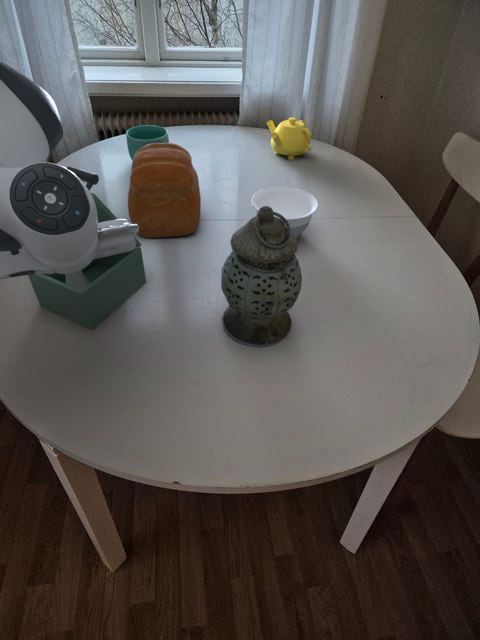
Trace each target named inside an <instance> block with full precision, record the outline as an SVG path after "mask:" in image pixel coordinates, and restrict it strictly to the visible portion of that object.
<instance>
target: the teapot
mask: <svg viewBox="0 0 480 640" xmlns="http://www.w3.org/2000/svg"><path fill="white" fill-rule="evenodd" d="M266 125H267V127H268V128H269V131H270V133H271V135H270V136H271V139H270V145H271V146H270V147H272V149H273V150H274V151H275V152H274V155H276V156H280V155H283V156H287V159H288V160H295V156H299V155H301V156H302V155H304V153H305V152H311V151H312V146H311V144H310V142H311V140H312V136H313V135H312V131H311V129H309V128H307V122H306V120H304V119H300V120H298V119H297V118H296V117H289V118H288V119H284V120H282V121H281V122H280V123H279V124H278V125H277V127H276V125H275V123H274V121H273V119H270V120H268V121H266Z"/></svg>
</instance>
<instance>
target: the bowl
mask: <svg viewBox="0 0 480 640" xmlns="http://www.w3.org/2000/svg"><path fill="white" fill-rule="evenodd" d="M250 204H251V207H252V208H253V209H254V213H255V216H258V211H259V209H260V208H261V207H263V206H269V207H271V208H272V210H273V211H274V212H276V213H279V214H281V215H282V216H283V217H284V218H285V219H286V220H287V221H288V223H289V225H290V228H291V234H292V235H293V236H294V237H295V239H296V240H298V238H299V235H300V234H301V233H303V232H304V231H305V230H306V229H307V227H308V226H309V225H310V222H311V220H312V218H313V215H314V214H316V213H317V211H318V209H319V201H318V200H317V198H316V197H315V196H314V195H313V194H311V192H308V191H306V190H303V189H301V188H297V187H292V186H283V185H282V186H280V185H279V186H270V187H266V188H262V189H261V190H258V191H256V192H255V193H254V194H253V196H252V197H251V201H250ZM274 216H275V215H274ZM275 217H277V216H275ZM278 218H279V217H278ZM279 219H280V218H279ZM284 224H285V223H284ZM285 226H286V225H285ZM286 228H287V227H286Z"/></svg>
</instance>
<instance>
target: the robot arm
mask: <svg viewBox="0 0 480 640" xmlns="http://www.w3.org/2000/svg"><path fill="white" fill-rule="evenodd" d="M61 119H62V118H61V116H60V113H59V110H58V108H57V105H56V103H55V101H54V99H53V98H52V97H51V95H50V94H49V93H48V92H47V91H46V90H45V89H43V88H42V87H41V86H40V85H39V84H37V83H36V82H34V81H33V80H32V79H30V78H28V77H27V76H25V75H24V74H23V73H21V72H20V71H18V70H16V69H14V68H13V67H12V66H10V65H8V64H6V63H5V62H4V61H2V60H0V280H6V279H10V278H16V277H22V276H28V275H32V274H53V273H59V274H70V273H75V272H78V271H80V270H82V269H84V268H85V267H86V266H88V265H89V264H90V263H91V261H92V260H93V259H99V258H103V257H106V256H111V255H115V254H120V253H125V252H129V251H132V250H134V249H135V248H136V242H135V239H134V237H135V235H136V234H138V231H139V226H138V225H137V224H132V223H131V222H130V221H129V220H128V219H125V218H118V219H117V220H111V221H106V222H100V223H98V216H97V209H96V205H95V202H94V199H93V197H92V195H91V193H92V192H91V191H89V190H88V189H87V187H86V184H85V182H83V181H81V180H80V179H79V178H78V177H77V176H76V175H75V174H74V173H73V172H71V171H70V170H68V169H67V167H65V166H63V165H60V164H58V163H53V162H48V160H49V159H50V158H51V156H52V154H53V153H54V151H55V150H56V148H57V147H58V145H59V144H60V143H61V141H62V139H63V137H64V127H63V123H62V120H61Z"/></svg>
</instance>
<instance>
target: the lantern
mask: <svg viewBox="0 0 480 640" xmlns="http://www.w3.org/2000/svg"><path fill="white" fill-rule="evenodd" d="M274 215H275V216H277V217H275V216H274ZM278 217H279V218H280V219H279V218H278ZM284 223H285V224H284ZM285 225H286V226H285ZM286 227H287V228H286ZM230 246H231V250H232V251H231V252H230V253H229V255H228V256H227V257H226V259H225V261H224V264H223V265H222V268H221V276H220V278H221V280H220V281H221V282H220V283H221V291H222V294H223V295H224V298H225V299H226V301H227V303H228V307H227V308H226V309H225V310H224V311H223V314H222V317H221V324H222V327H223V328H222V329H223V330H224V332H225V333H226V335H227V336H228V337H229V338H230V339H232V340H233V341H234V342H236V343H238V344H241V345H244V346H246V347H253V348H266V347H271V346H273V345H275V344H278V343H279V342H280V343H281V341H283V340H284V339H285V338H287V337H288V336H289V333H290V331H291V328H292V318H291V316H290V313H289V310H290V309H292V308H293V307H294V305H295V304H296V302H297V301H298V299H299V296H300V294H301V290H302V284H303V276H302V275H303V274H302V270H301V265H300V261H299V259H298V257H297V256H296V253H297V252H298V242H297V239H295V237H294V236H293V235H292V234H291V228H290V225H289V223H288V221H287V220H286V219H285V218H284V217H283V216H282V215H281V214H279V213H276V212H274V211H273V210H272V208H271V207H269V206H263V207H261V208H260V209H259V211H258V216H256V215H255V216H253V217H252V218H250V219H249V220H248V221H247V222H246V223H245V224H244V225H242V226H240V227H239V228H238V229H236V231H234V233H233V234H232V236H231V238H230Z"/></svg>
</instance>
